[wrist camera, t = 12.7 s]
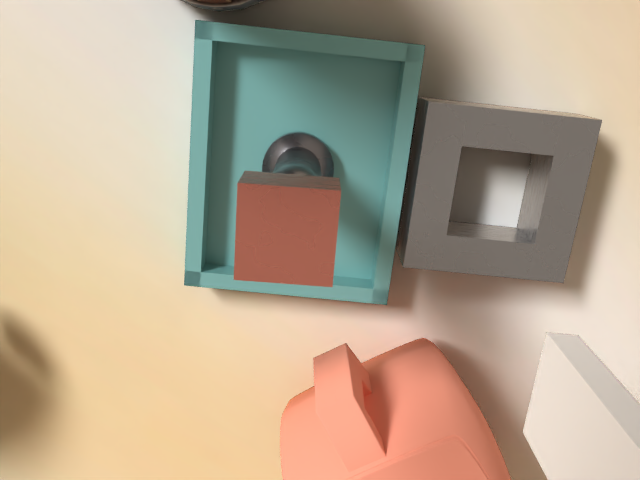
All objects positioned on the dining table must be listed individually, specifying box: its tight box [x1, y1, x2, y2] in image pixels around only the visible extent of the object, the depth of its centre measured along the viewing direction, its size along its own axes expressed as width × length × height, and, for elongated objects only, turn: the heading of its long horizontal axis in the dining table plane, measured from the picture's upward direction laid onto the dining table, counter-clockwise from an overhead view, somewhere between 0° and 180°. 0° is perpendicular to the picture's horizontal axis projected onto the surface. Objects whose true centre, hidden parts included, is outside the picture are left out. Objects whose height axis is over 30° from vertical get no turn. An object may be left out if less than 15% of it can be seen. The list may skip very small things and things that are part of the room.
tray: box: [184, 20, 425, 305], centre depth 38 cm, size 16×13×2 cm
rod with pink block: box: [234, 132, 341, 287], centre depth 31 cm, size 4×4×15 cm
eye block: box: [396, 97, 602, 283], centre depth 38 cm, size 10×10×4 cm
